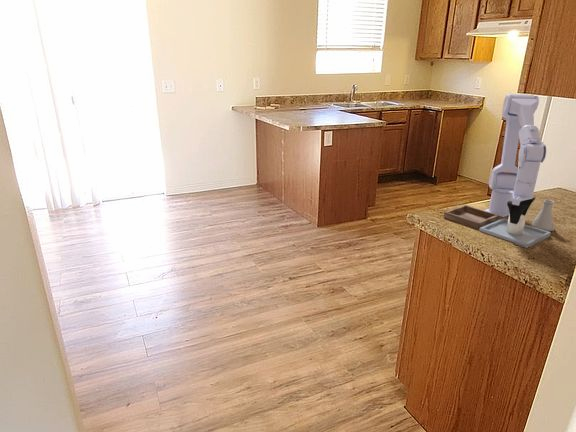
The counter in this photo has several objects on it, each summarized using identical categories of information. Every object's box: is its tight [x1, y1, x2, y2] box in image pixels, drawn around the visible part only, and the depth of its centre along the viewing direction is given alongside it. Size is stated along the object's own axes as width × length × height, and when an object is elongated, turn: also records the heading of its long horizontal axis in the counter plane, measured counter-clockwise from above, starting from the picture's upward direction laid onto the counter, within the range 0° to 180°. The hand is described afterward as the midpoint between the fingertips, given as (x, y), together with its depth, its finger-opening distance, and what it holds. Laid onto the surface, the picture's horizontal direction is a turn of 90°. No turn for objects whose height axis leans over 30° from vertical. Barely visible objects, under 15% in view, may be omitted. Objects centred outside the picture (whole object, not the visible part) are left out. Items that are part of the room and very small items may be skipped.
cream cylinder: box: [506, 214, 527, 235], centre depth 139 cm, size 5×5×6 cm
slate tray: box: [478, 217, 552, 249], centre depth 140 cm, size 16×16×2 cm
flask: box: [531, 199, 555, 232], centre depth 144 cm, size 7×7×10 cm
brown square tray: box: [443, 204, 500, 230], centre depth 152 cm, size 14×14×2 cm
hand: (517, 220), depth 139 cm, fingers open, 7 cm apart
